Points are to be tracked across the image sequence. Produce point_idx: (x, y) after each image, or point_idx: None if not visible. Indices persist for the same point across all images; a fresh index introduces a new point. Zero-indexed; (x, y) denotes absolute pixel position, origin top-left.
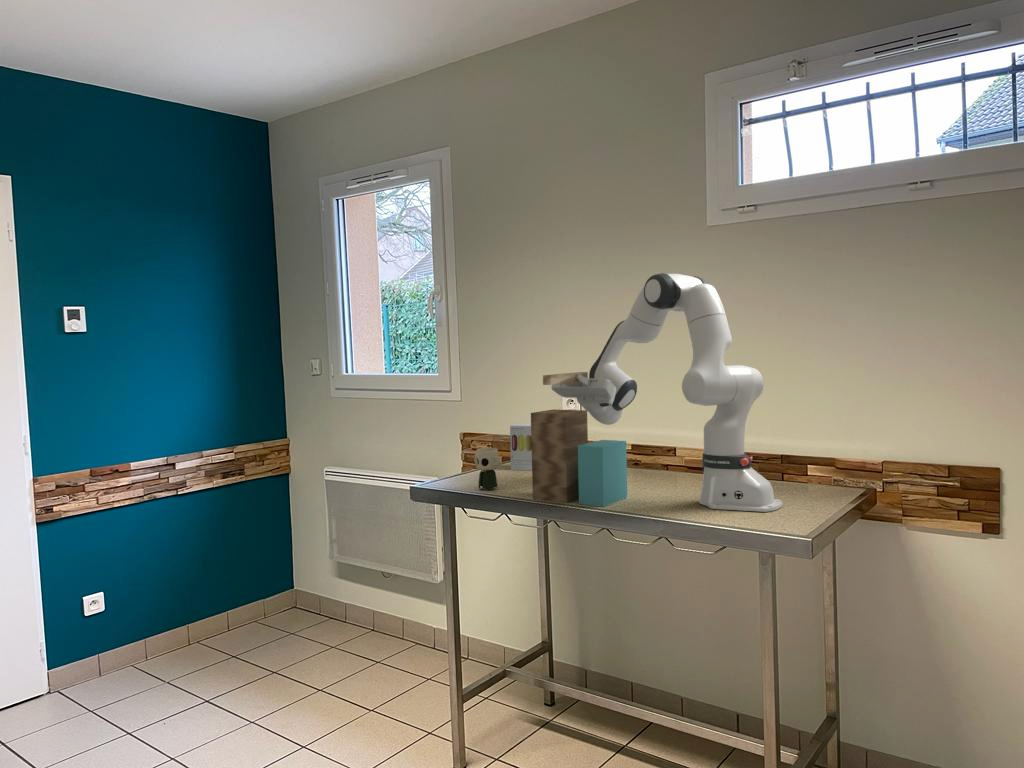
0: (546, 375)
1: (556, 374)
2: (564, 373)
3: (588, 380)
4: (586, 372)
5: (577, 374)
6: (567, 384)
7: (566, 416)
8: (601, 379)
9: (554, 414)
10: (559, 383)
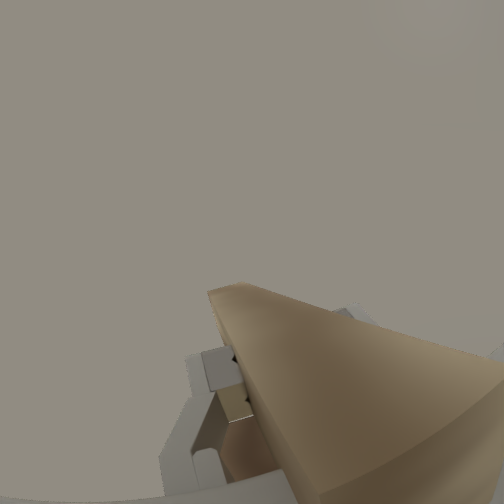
0: (226, 286)
1: (234, 292)
2: (291, 298)
3: (168, 480)
4: (297, 460)
5: (214, 349)
6: None
7: None
8: (18, 500)
9: (236, 423)
10: (222, 339)
